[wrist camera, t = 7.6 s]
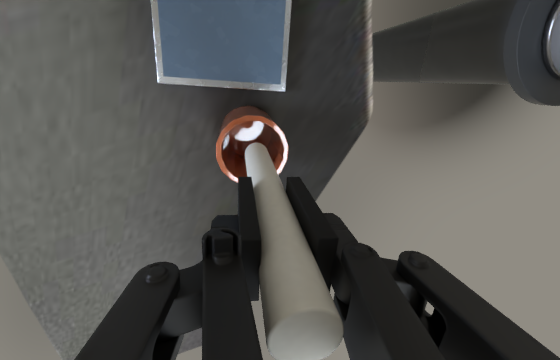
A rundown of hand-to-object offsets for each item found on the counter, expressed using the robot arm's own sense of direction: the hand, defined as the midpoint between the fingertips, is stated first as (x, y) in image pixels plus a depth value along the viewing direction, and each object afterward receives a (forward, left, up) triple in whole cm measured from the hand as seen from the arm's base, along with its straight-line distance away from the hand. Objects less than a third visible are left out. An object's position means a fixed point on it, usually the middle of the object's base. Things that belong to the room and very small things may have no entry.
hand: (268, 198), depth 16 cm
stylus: (0, 0, -11) cm, 11 cm away
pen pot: (0, 0, -21) cm, 21 cm away
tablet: (+3, -15, -21) cm, 26 cm away
